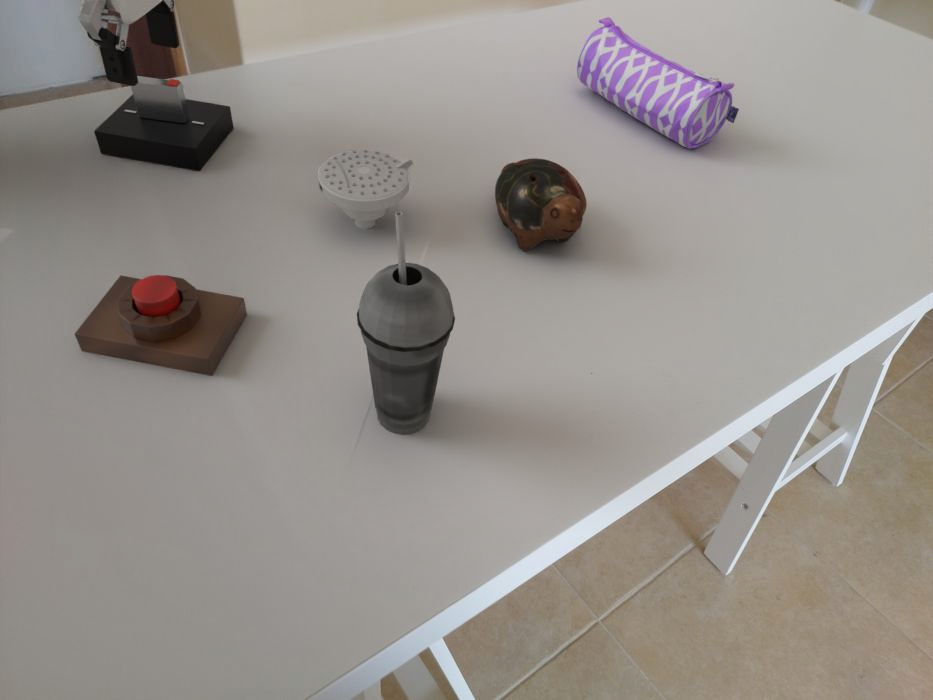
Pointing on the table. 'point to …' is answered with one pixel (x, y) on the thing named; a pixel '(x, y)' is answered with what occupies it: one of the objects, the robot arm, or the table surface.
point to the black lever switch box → (166, 135)
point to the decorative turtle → (539, 201)
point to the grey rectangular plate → (160, 99)
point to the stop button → (156, 296)
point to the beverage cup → (405, 339)
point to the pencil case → (654, 87)
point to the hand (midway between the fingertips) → (145, 63)
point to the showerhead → (364, 183)
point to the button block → (164, 328)
